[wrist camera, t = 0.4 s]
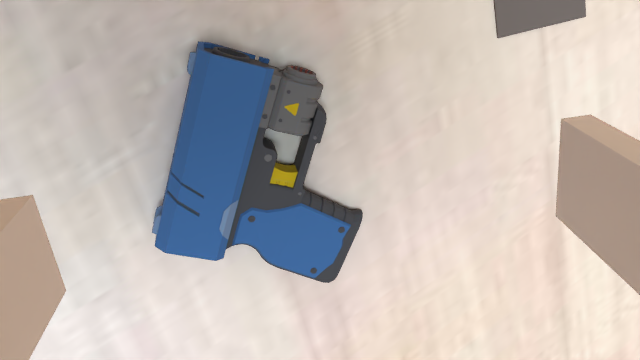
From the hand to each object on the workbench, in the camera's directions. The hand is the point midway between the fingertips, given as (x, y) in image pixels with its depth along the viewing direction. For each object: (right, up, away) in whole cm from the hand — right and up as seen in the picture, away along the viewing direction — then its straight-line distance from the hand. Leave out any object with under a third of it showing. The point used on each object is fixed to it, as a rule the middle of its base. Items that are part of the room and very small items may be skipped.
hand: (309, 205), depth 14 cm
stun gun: (-3, +2, +29) cm, 29 cm away
